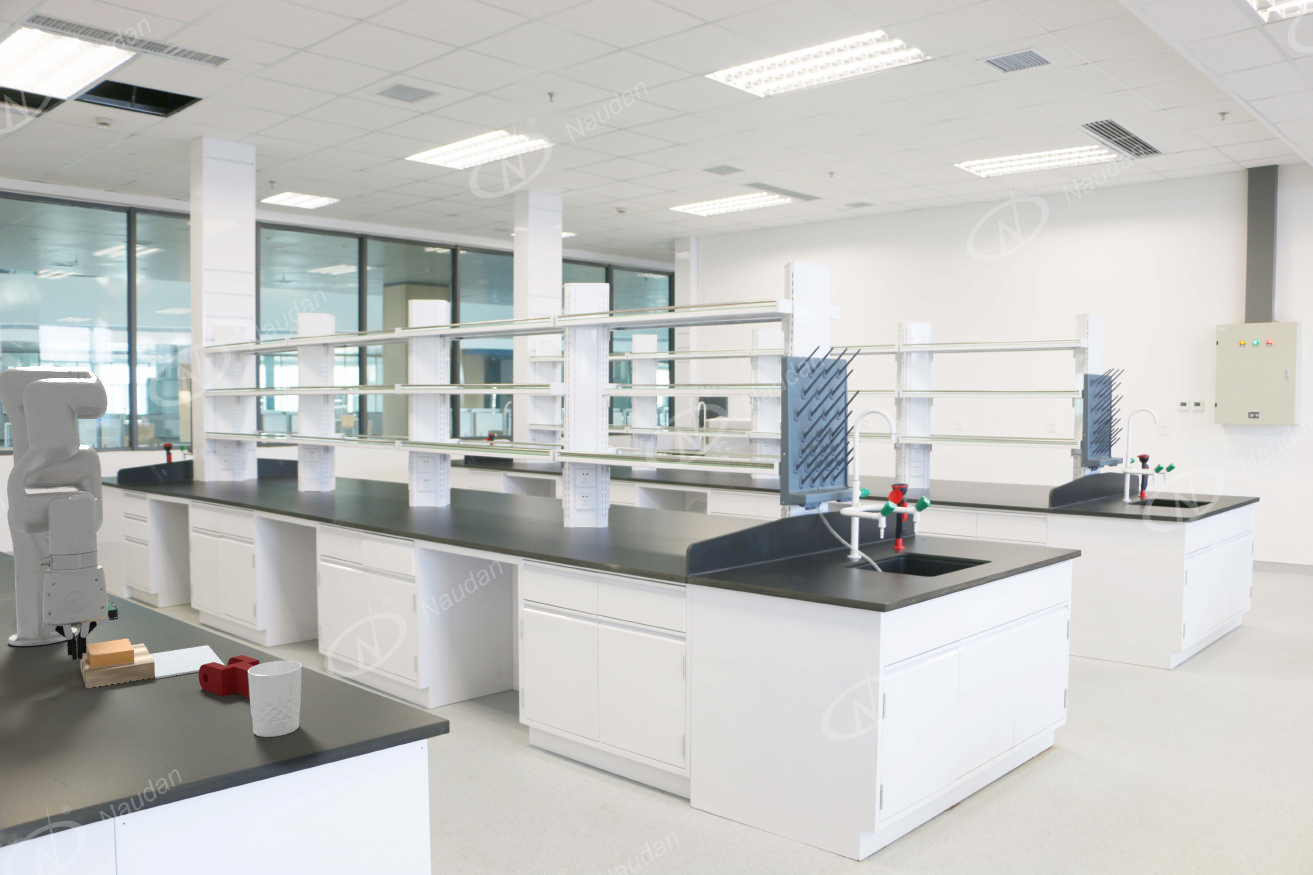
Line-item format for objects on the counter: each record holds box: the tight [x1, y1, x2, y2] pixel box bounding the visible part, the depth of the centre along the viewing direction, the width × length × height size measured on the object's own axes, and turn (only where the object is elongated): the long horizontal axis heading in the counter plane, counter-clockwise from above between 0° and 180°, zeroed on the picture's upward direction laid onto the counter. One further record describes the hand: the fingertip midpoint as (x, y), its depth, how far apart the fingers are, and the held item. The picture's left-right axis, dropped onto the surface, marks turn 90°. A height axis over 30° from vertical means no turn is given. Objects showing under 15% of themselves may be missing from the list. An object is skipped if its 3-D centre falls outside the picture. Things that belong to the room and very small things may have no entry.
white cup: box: [248, 660, 302, 738], centre depth 143 cm, size 8×8×10 cm
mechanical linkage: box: [198, 654, 260, 699], centre depth 162 cm, size 16×7×5 cm, turn 54°
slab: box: [86, 638, 134, 668], centre depth 172 cm, size 10×7×2 cm
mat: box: [150, 645, 225, 680], centre depth 180 cm, size 18×12×1 cm, turn 36°
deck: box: [79, 643, 155, 690], centre depth 173 cm, size 16×11×3 cm
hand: (77, 657), depth 169 cm, fingers closed
